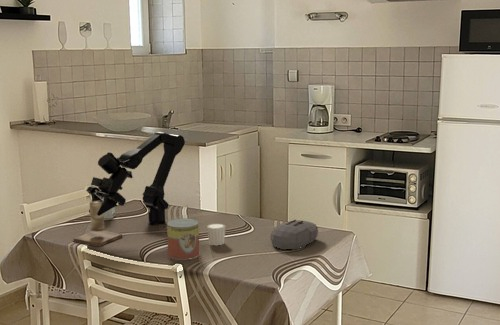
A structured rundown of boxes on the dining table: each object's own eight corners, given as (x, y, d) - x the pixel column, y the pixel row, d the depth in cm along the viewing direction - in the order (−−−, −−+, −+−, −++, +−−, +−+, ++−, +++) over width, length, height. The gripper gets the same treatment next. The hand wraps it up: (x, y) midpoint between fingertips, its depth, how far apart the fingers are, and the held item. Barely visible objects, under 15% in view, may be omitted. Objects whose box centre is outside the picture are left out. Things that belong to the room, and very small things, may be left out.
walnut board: (97, 232, 251) (97, 229, 250) (122, 237, 244) (122, 234, 244) (73, 241, 240) (73, 238, 239) (99, 246, 233) (98, 243, 233)
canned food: (174, 262, 216) (173, 228, 214) (163, 252, 226) (162, 220, 224) (204, 256, 221) (203, 224, 219) (192, 247, 231) (191, 216, 229)
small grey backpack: (290, 233, 247) (262, 247, 231) (290, 213, 246) (261, 225, 230) (323, 240, 239) (297, 254, 223) (324, 219, 237) (297, 232, 221)
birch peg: (106, 227, 243) (104, 200, 241) (101, 231, 238) (99, 204, 236) (94, 227, 244) (92, 200, 242) (89, 231, 239) (87, 203, 237)
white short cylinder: (228, 241, 238) (228, 224, 236) (221, 247, 231) (221, 229, 230) (211, 240, 240) (211, 222, 239) (204, 245, 233) (204, 227, 232)
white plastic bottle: (112, 218, 270) (110, 186, 268) (99, 218, 270) (97, 186, 268) (115, 215, 276) (114, 183, 273) (102, 215, 276) (100, 183, 273)
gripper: (88, 166, 246) (66, 198, 240) (117, 172, 234) (94, 206, 228) (106, 182, 253) (85, 214, 247) (135, 188, 241) (113, 222, 235)
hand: (93, 213), depth 239 cm, fingers closed on birch peg, 5 cm apart
